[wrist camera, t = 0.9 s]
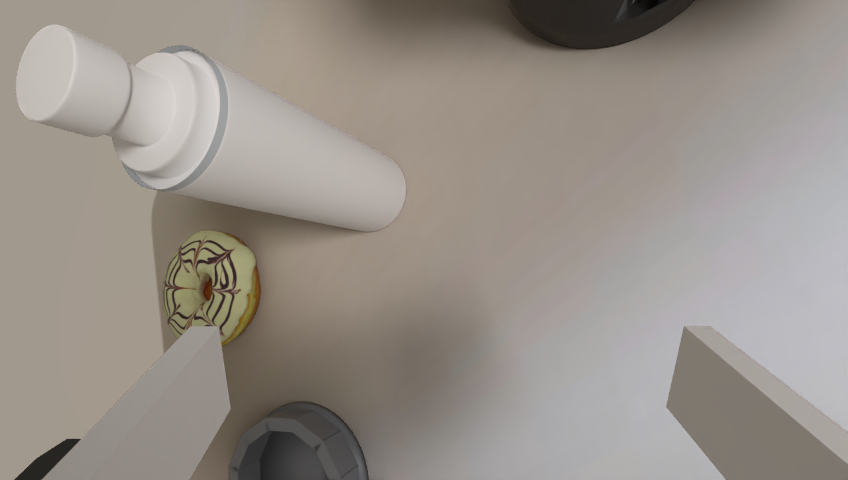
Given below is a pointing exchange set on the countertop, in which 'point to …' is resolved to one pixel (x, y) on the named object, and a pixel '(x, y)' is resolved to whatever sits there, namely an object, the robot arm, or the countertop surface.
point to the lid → (299, 447)
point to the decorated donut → (211, 285)
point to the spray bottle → (207, 132)
